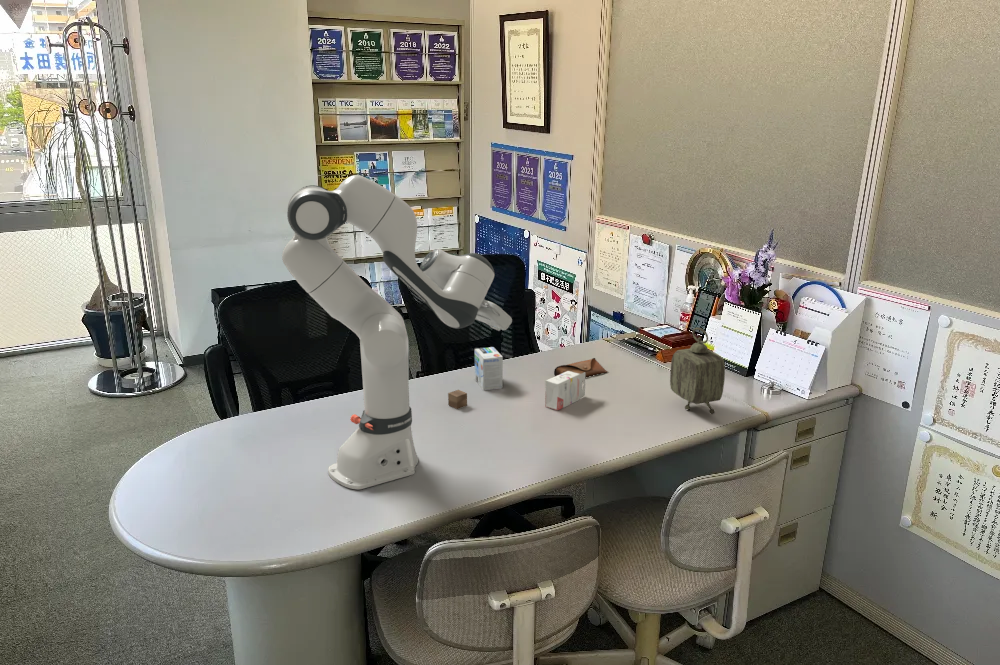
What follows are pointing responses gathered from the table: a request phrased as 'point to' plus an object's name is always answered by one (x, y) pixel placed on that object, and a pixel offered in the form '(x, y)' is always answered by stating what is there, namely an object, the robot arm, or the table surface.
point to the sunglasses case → (582, 368)
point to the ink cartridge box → (564, 390)
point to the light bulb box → (488, 368)
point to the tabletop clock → (697, 374)
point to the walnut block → (457, 399)
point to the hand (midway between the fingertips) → (497, 327)
